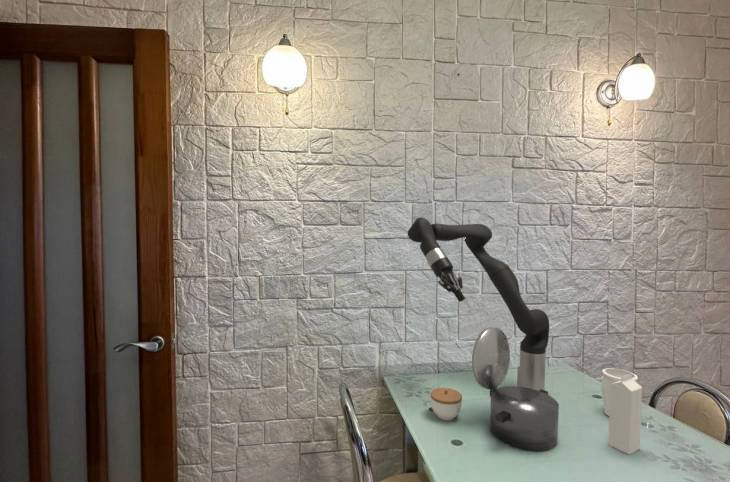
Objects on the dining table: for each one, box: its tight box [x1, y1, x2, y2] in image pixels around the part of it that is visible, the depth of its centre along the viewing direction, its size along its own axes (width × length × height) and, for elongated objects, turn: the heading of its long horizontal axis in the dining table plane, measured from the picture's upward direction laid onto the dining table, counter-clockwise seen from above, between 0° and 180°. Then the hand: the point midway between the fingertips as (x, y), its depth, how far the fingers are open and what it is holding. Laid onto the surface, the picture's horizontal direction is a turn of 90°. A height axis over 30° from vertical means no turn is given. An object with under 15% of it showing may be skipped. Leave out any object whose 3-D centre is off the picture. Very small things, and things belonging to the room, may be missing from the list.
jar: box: [601, 367, 639, 417], centre depth 134 cm, size 11×10×15 cm
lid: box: [471, 326, 511, 391], centre depth 131 cm, size 20×20×3 cm
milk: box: [607, 374, 643, 455], centre depth 115 cm, size 6×6×22 cm
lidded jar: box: [430, 387, 463, 421], centre depth 133 cm, size 11×11×9 cm
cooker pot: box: [489, 385, 560, 453], centre depth 123 cm, size 21×28×11 cm
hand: (462, 300), depth 140 cm, fingers closed
